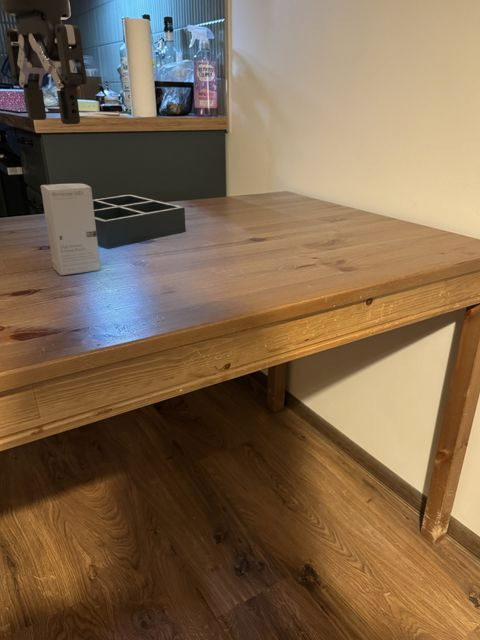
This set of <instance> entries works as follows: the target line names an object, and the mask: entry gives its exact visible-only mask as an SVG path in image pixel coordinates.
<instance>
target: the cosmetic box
mask: <svg viewBox="0 0 480 640" xmlns="http://www.w3.org/2000/svg"><path fill="white" fill-rule="evenodd" d="M40 191H41V196H42V197H41V198H42V204H43V211H44V217H45V224H46V229H47V235H48V242H49V248H50V249H49V250H50V256H51V261H52V267H53V269H54V270H55V271H56V273H57V274H58V275H60V276H66V275H67V276H68V275H74V274H81V273H82V274H83V273H89V272H96V271H99V270H101V262H100V252H99V245H98V242H97V233H96V225H95V216H94V208H93V200H94V199H93V191H92V187H91V186H90V185H88V184H85V183H82V182H78V183H75V182H74V183H56V184H41V185H40Z"/></svg>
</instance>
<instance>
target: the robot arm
mask: <svg viewBox="0 0 480 640" xmlns="http://www.w3.org/2000/svg"><path fill="white" fill-rule="evenodd" d="M0 2H1V7H2V11H3V12H4V14H7V15H9V16H11V17H14V18H16V20H17V21H16V22H17V29H15V28H5V30H4V34H5V41H6V47H7V53H8V54H7V55H8V61H9V67H10V68H9V69H10V73H11V79H12V81H13V82H14V83H19V86H20V88H22V89H23V94H24V99H25V105H26V106H25V107H26V111H27V112H26V113H27V117H28V118H29V119H30V120H31V121H44V120H46V119H47V112H46V104H45V98H44V93H43V92H44V91H43V89H42V86H43V79H44V75H46V74H49V75H50V76H51V78H52V80H53V82H54V84H55V86H56V89H58V90H56V95H57V102H58V103H57V104H58V108H59V109H58V110H59V116H60V121H61V123H62V124H64V125H79V124H80V122H81V116H80V108H79V101H78V93H77V91H78V90H80V86H81V85H86V84H87V83H88V77H87V70H86V64H85V57H84V52H83V51H84V50H83V45H82V43H83V42H82V37H81V30H80V27H79V26H78V25H72V24H66V23H63V22H62V21H63V20H67V19H70V17H71V15H72V13H71V4H70V0H0ZM74 69H76V72H75V71H74Z"/></svg>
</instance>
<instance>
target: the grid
mask: <svg viewBox="0 0 480 640" xmlns="http://www.w3.org/2000/svg"><path fill="white" fill-rule="evenodd" d="M93 208H94V216H95V225H96V233H97V242H98V247H102V248H105V249H112V248H116V247H117V246H118V247H121V245H122V246H125V245H126V244H127V245H131V244H134V243H139V242H144V241H148V240H153V239H157V238H162V237H167V236H171V235H176V234H180V233H184V232H186V231H187V230H186V229H187V228H186V210H185V206H181V205H176V204H171V203H168V202H164V201H160V200H156V199H155V200H154V199H151V198H147V197H143V196H139V195H134V194H124V195H118V196H110V197H105V198H104V197H103V198H96V199H93ZM127 245H126V246H127Z"/></svg>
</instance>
